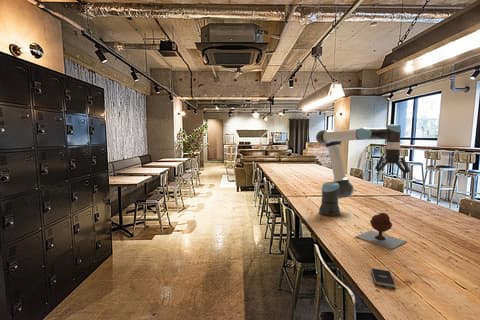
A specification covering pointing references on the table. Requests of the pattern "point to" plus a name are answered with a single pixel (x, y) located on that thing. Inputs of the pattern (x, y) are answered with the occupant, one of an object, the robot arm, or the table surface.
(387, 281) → the external hard drive
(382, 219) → the ice cream bowl
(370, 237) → the grey mat
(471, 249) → the table surface
